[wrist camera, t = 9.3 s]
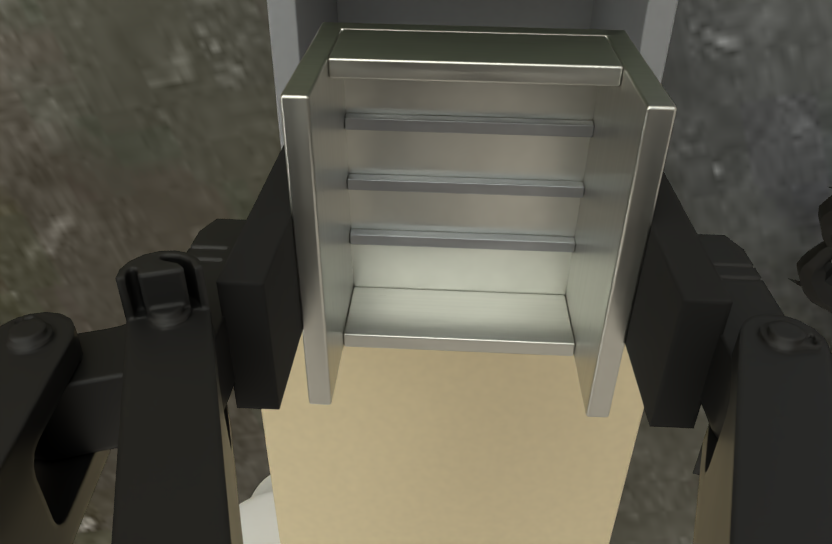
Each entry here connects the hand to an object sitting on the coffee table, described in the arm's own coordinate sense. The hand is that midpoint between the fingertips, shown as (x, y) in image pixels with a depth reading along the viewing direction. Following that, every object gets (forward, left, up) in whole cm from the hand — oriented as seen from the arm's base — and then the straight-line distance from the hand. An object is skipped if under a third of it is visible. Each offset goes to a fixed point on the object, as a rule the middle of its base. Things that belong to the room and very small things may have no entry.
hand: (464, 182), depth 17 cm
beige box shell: (0, -12, -14) cm, 18 cm away
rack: (0, 0, 0) cm, 0 cm away
